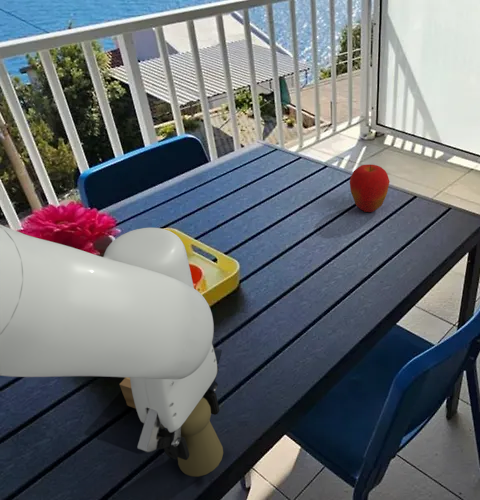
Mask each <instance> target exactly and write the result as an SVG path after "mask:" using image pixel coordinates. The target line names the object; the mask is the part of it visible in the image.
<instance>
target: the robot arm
mask: <svg viewBox="0 0 480 500" xmlns="http://www.w3.org/2000/svg"><path fill="white" fill-rule="evenodd" d="M194 287H195V286H194V282H193V278H192V272H191V267H190V263H189V257H188V253H187V249H186V247H185V244H184V242H183V241H182V239H181V238H180V237H179V236H178V235H177V234H176V233H174V232H172V231H171V230H168V229H164V228H160V227H142V228H137V229H133V230H130V231H128V232H125V233H123V234H121V235H119V236H118V237H116V238H114V240H113V241H111V242H110V243H109V245H108V246H107V247H106V249H105V252H104V254H103V256H101V255H97V254H93V253H91V252H88V251H84V250H82V249H78V248H75V247H73V246H70V245H65V244H62V243H59V242H54V241H50V240H47V239H43V238H38V237H36V236H32V235H29V234H25V233H23V232H20V231H18V230H15V229H12V228H9V227H8V226H5V225H3V224H0V376H1V377H13V378H15V377H16V378H53V377H54V378H56V377H57V378H58V377H60V378H61V377H106V378H107V377H108V378H109V377H110V378H126V377H128V378H130V382H131V389H132V394H133V398H134V403H135V406H136V408H135V410H136V412H137V416H138V418H139V420H140V422H141V423H142V424H143V427H142V430H141V433H140V436H139V440H138V442H137V450H140V451H143V452H144V453H151V452H155V451H157V450H158V449H159V450H164V453H165V455H166V456H167V457H168V458H171V459H173V460H178V457H179V458H181V459H184V460H187V459H188V458H189V456H190V455H189V450H188V447H187V444H186V440H185V438H184V437H181V426H182V424H183V423H184V422H185V421H186V419H187V418H188V416H189V415H190V414H191V412H192V411H193V410H194V408H195V407H196V405H197V404H198V403H199V401H200V400H201V398H202V397H203V398H205V399H206V400H207V402H208V403H209V405H210V409H211V415H214V416H216V415H218V414H219V412H220V406H219V401H218V397H217V393H216V391H217V389H218V385H219V384H218V382H217V381H216V379H217V375H218V373H219V372H220V371H219V368H220V367H219V363H220V359H221V356H222V352H223V350H222V349H220V348H217V347H214V345H213V340H214V333H215V332H214V331H215V330H214V329H215V325H214V317H213V312H212V310H211V307H210V305H209V303H208V301H207V300H206V299H205V297H204V296H203V295H202V293H201V292H200V291H199V290H197V289H196V288H194Z"/></svg>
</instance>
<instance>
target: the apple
mask: <svg viewBox="0 0 480 500" xmlns="http://www.w3.org/2000/svg"><path fill="white" fill-rule="evenodd" d="M390 182H391V181H390V178H389V174H388V173H387V171H386V170H385V169H384V168H383V167H382V166H379V165H377V164H361V165H359V166H358V167H357V168H356V169H354V170H353V172H352V174H351V176H350V178H349V187H350V193H351V196H352V198H353V201H354V203H355V205H356V207H357V208H358V209H360V210H361V211H362V212H365V213H374V212H375V211H376V210H378V209H380V208H381V207H382V206H383V204H384V202H385V199H386V198H387V195H388V192H389V187H390Z"/></svg>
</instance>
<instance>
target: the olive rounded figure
mask: <svg viewBox="0 0 480 500" xmlns="http://www.w3.org/2000/svg"><path fill="white" fill-rule="evenodd" d="M211 416H212V414H211V409H210V405H209V403H208V402H207V400H206V399H205V398H203V397H202V398H201V400H200V401H199V403H198V404H197V405H196V407H195V408H194V410H193V411H192V412H191V414H190V415H189V416H188V418H187V419H186V421H185V422H184V423H183V424H182V426H181V437H184V438H185V440H186V444H187V447H188V450H189V455H190V456H189V458H188V459H187V460H184V459H181V458H179V457H177V465H178V467H179V469H180V471H181V472H182V473H183V474H184V475H187V476H189V477H202V476H205V475H208V474H209V473H211V472H213V471H215V469H216V468H218V467H219V465H220V463H221V462H222V461H223V455H224V447H223V445H222V442H221V441H220V439H219V437H218V434H217V433H216V430H215V429H214V427H213V424H212V423H211V421H210V420H211Z"/></svg>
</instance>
